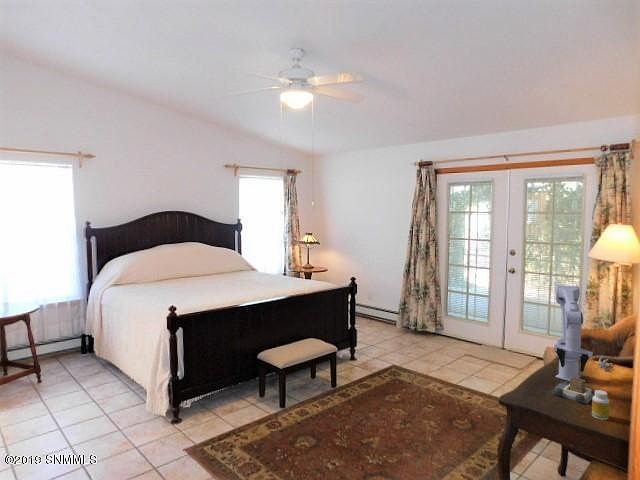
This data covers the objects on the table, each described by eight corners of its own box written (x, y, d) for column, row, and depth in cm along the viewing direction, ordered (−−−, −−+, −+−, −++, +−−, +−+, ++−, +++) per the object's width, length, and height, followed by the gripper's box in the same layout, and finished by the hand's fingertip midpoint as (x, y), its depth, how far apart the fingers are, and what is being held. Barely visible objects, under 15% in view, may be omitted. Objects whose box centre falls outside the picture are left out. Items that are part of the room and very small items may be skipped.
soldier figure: (617, 369, 211) (614, 368, 202) (608, 374, 213) (605, 373, 204) (605, 355, 215) (602, 354, 206) (596, 360, 217) (593, 359, 208)
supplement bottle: (602, 421, 157) (603, 396, 156) (588, 415, 162) (589, 390, 161) (611, 418, 159) (612, 393, 159) (597, 412, 164) (598, 388, 164)
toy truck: (561, 386, 188) (561, 379, 188) (595, 396, 178) (595, 388, 178) (551, 394, 180) (551, 387, 180) (585, 404, 171) (585, 397, 170)
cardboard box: (573, 390, 181) (573, 377, 181) (584, 393, 178) (585, 380, 178) (569, 393, 178) (569, 379, 178) (581, 396, 175) (581, 382, 175)
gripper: (551, 336, 186) (551, 366, 187) (589, 344, 176) (588, 375, 176) (557, 333, 191) (557, 362, 192) (594, 340, 180) (593, 371, 181)
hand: (572, 368), depth 185 cm, fingers open, 7 cm apart
